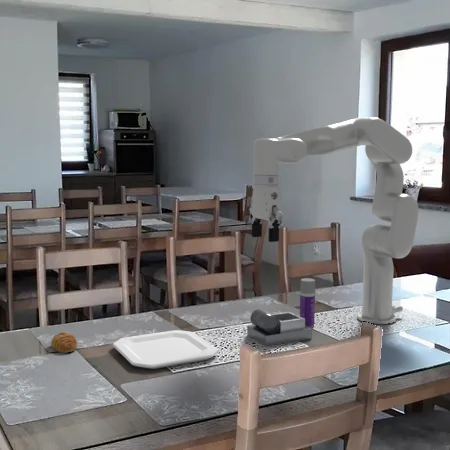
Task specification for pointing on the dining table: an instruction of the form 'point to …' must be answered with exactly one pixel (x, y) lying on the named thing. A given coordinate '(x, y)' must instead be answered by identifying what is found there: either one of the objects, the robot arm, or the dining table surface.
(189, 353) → the plate
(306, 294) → the container
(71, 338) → the pastry
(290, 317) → the block
